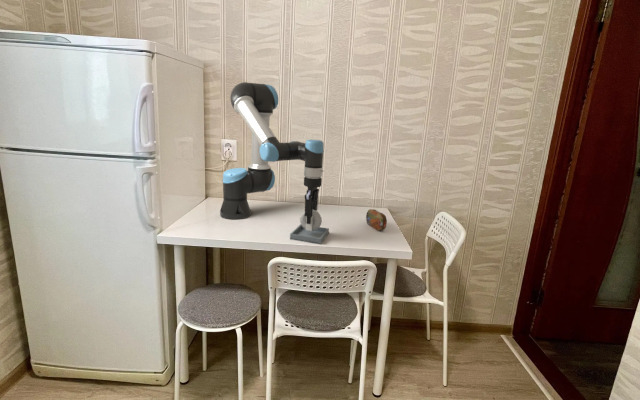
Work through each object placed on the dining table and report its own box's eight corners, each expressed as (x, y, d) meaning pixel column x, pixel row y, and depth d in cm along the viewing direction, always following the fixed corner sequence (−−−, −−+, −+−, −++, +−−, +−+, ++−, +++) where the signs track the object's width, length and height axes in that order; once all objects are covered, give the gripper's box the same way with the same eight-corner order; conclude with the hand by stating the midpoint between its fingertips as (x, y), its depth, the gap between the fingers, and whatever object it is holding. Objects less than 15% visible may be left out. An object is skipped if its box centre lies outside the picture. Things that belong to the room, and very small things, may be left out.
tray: (289, 239, 146) (290, 234, 146) (300, 229, 159) (300, 224, 159) (320, 244, 143) (320, 239, 142) (328, 233, 156) (328, 228, 155)
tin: (364, 222, 173) (366, 207, 171) (370, 222, 175) (371, 206, 172) (381, 233, 160) (383, 216, 158) (386, 232, 161) (388, 215, 159)
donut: (298, 230, 150) (299, 208, 148) (300, 228, 153) (301, 206, 151) (319, 233, 147) (321, 211, 145) (322, 231, 151) (323, 209, 148)
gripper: (315, 181, 135) (312, 236, 142) (326, 174, 151) (323, 224, 157) (298, 179, 137) (295, 233, 143) (310, 172, 153) (307, 221, 159)
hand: (310, 228), depth 150 cm, fingers closed on donut, 3 cm apart
